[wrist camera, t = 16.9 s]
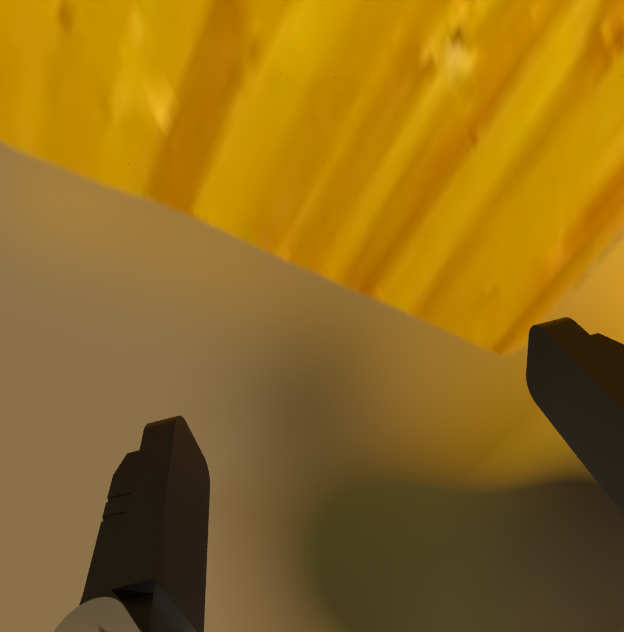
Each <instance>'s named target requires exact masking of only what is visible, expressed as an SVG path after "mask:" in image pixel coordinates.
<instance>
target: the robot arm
mask: <svg viewBox="0 0 624 632" xmlns="http://www.w3.org/2000/svg"><path fill="white" fill-rule="evenodd" d="M526 380H527V385H528V389H529V391H530V394H531V396H532V398H533V400H534V401H535V403H536V404H537V405H538V407H539V408H540V409H541V411H542V412H543V413H544V414H545V416H546V417H547V418H548V419H549V421H550V422H551V423H552V425H553V426H554V427H555V428H556V430H557V431H558V432H559V434H560V435H561V436H562V437H563V439H564V440H565V441H566V443H567V444H568V445H569V446H570V448H571V449H572V450H573V452H574V453H575V454H576V455H577V457H578V458H579V459H580V461H581V462H582V463H583V464H584V465H585V467H586V468H587V469H588V471H589V472H590V473H591V475H592V476H593V477H594V478H595V480H596V481H597V482H598V483H599V485H600V486H601V487H602V489H603V490H604V491H605V492H606V494H607V495H608V496H609V497H610V499H611V500H612V502H613V503H614V504H615V505H616V507H617V508H618V509H619V511H620V512H621V513H622V514H623V515H624V345H623V344H621V343H619V342H617V341H615V340H612V339H610V338H608V337H606V336H604V335H601V334H599V333H597V334H594V335H589V334H588V333H587V332H586V331H585V330H584V329H583V328H582V327H581V326H579V325H578V324H577V323H576V322H575V321H574V320H572V319H571V318H568V317H565V318H561V319H557V320H553V321H549V322H545V323H541V324H537V325H534V326H532V327H531V329H530V331H529V341H528V355H527V369H526ZM209 497H210V477H209V471H208V467H207V463H206V460H205V458H204V456H203V454H202V452H201V450H200V448H199V446H198V444H197V442H196V440H195V438H194V436H193V434H192V432H191V431H190V429H189V427H188V425H187V423H186V421H185V419H184V418H183V417H182V416H176V417H172V418H168V419H164V420H160V421H156V422H152V423H148V424H147V425H146V426H145V428H144V431H143V436H142V441H141V446H140V450H139V451H135V452H131V453H128V454H127V455H126V456H125V458H124V459H123V461H122V462H121V464H120V465H119V467H118V469H117V470H116V472H115V473H114V475H113V478H112V482H111V486H110V490H109V494H108V497H107V498H108V502H107V503H106V506H105V509H104V513H103V522H101V525H100V529H99V533H98V537H97V541H96V545H95V549H94V553H93V557H92V561H91V565H90V568H89V573H88V576H87V580H86V584H85V588H84V592H83V596H82V599H81V602H80V604H79V606H78V607H77V608H75V609H74V610H73V611H72V612H70V613H69V614H68V615H67V616H66V617H65V618H64V619H63V620H62V621H61V623H60V624H59V625H58V626H57V627H56V629H55V631H54V632H204V612H205V590H206V566H207V544H208V520H209Z"/></svg>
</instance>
